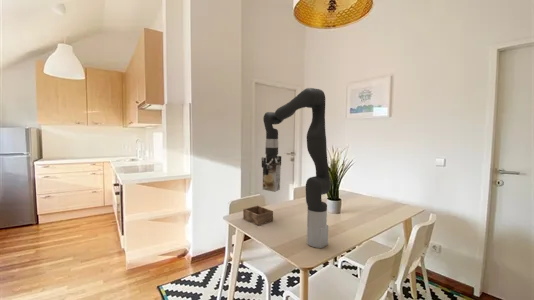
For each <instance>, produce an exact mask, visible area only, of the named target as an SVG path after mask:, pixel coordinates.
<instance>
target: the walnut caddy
mask: <svg viewBox="0 0 534 300" xmlns="http://www.w3.org/2000/svg"><path fill="white" fill-rule="evenodd" d="M242 213H243V214H242V217H243V218H242V219H243V220H246V221H247V222H250V223H252V224H254V225H255V226H256V225H257V226H261V225H265V224H268V223H271V222H273V221H274V210H271V209H268V208H265V207H264V206H263V207H262V206H260V205H255V206H251V207H247V208H244V209H243V212H242Z"/></svg>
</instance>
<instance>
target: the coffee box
mask: <svg viewBox="0 0 534 300" xmlns="http://www.w3.org/2000/svg"><path fill="white" fill-rule="evenodd" d="M281 166H282V163H281V164H280V163H273V164H270V166H269V167H268V175H265V174H264V168H262V190H263V191H268V192H274V193H275V192H279V191H280V190H281V169H282V168H281ZM266 167H267V165H266Z"/></svg>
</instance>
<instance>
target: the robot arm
mask: <svg viewBox="0 0 534 300" xmlns="http://www.w3.org/2000/svg"><path fill="white" fill-rule="evenodd" d="M303 108H308V109H311V113H312V114H311V115H312V118H311V123H310V125H309V127H308V130H307V133H306V148H307V152H308V154H309V155H310V158H311V160H312V162H313V163H314V167H315V176H310V177H308V178H307V180H306V183H305V202H306V206H307V214H306V215H307V218H306V219H307V221H306V222H307V223H306V243H307V245H308V246H310V247H312V248H317V249H323V248H325V247H326V246H328V245H329V225H327V221H328V219H327V218H328V204H327V203H326V202H325V201H322V200H323V199H322V195H326V194H328V193H329V192H330V190H331V187H332V182H331V177H330V171H329V162H328V151H327V150H328V149H327V134H326V95H325V92H324V90H322V89H319V88H314V87H307V88H305V89H303V90H302V91H301V92H299V93H298V94H297V95H296V96H295V97H293V99H291V100H290V101H289V102H287V103H286V104H283V105H281V106H280V107H277V109H276V110H275V112H272V111H267V112H265V113H264V115H263V125H264V129H265V133H266V134H265V153H264V154H265V157H261V168H262V169H263V168H264V174H265V175H268V167H269V166H270V164H273V163H280V164H281V165H282V156H280V155H279V130H278V129H277V128H275V127H274V126H275V125H279V124H281V123H282V122H283V121H284V120H286V119H288V118H290V117H292V116H293V115H294V114H295V113H296V111H298V110H300V109H303ZM273 125H274V126H273ZM266 165H267V167H266Z"/></svg>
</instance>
